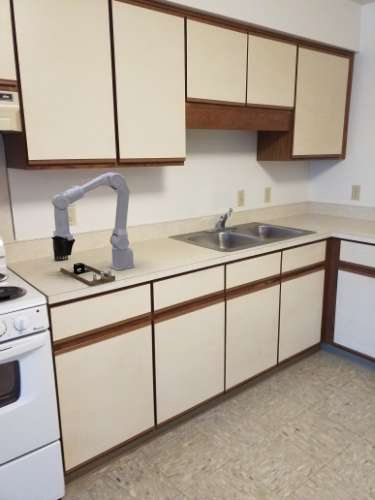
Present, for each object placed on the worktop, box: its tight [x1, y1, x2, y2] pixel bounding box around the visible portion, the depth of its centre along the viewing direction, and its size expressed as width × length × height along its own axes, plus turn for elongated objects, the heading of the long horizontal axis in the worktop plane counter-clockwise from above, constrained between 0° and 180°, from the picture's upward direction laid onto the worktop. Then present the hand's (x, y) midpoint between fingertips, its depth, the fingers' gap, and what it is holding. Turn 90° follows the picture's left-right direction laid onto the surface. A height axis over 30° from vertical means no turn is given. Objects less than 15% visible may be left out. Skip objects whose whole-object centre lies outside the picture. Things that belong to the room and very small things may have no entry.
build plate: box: [72, 262, 92, 276], centre depth 178 cm, size 12×7×5 cm, turn 139°
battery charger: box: [52, 239, 69, 262], centre depth 197 cm, size 7×4×11 cm, turn 123°
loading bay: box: [59, 263, 116, 287], centre depth 173 cm, size 12×29×5 cm, turn 42°
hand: (64, 253), depth 172 cm, fingers open, 7 cm apart
